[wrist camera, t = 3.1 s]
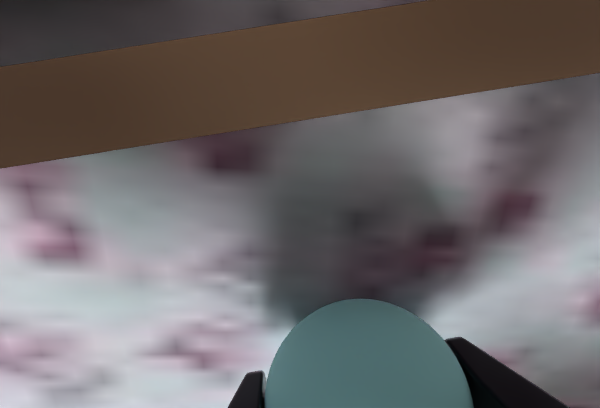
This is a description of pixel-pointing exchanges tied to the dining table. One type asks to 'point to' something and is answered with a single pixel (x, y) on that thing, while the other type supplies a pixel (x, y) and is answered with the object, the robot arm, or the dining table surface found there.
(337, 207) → the dining table surface
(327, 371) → the ball
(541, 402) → the robot arm
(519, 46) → the rail
